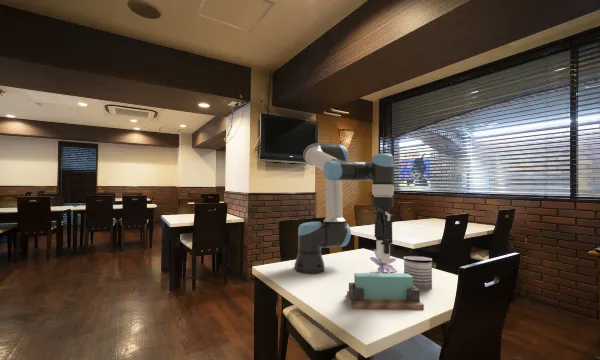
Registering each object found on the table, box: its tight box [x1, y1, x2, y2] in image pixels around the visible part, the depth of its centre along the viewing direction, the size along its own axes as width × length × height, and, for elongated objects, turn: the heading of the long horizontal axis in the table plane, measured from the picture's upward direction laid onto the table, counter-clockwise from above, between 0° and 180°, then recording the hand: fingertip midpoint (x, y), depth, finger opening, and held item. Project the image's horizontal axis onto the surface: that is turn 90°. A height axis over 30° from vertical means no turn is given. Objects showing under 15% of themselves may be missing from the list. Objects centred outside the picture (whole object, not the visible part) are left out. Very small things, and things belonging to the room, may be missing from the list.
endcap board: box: [346, 282, 425, 310], centre depth 98 cm, size 24×12×6 cm, turn 90°
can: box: [403, 255, 433, 291], centre depth 115 cm, size 11×11×12 cm
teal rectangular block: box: [353, 272, 413, 300], centre depth 98 cm, size 20×4×8 cm, turn 90°
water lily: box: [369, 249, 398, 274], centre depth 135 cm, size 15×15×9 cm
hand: (382, 260), depth 99 cm, fingers open, 6 cm apart
